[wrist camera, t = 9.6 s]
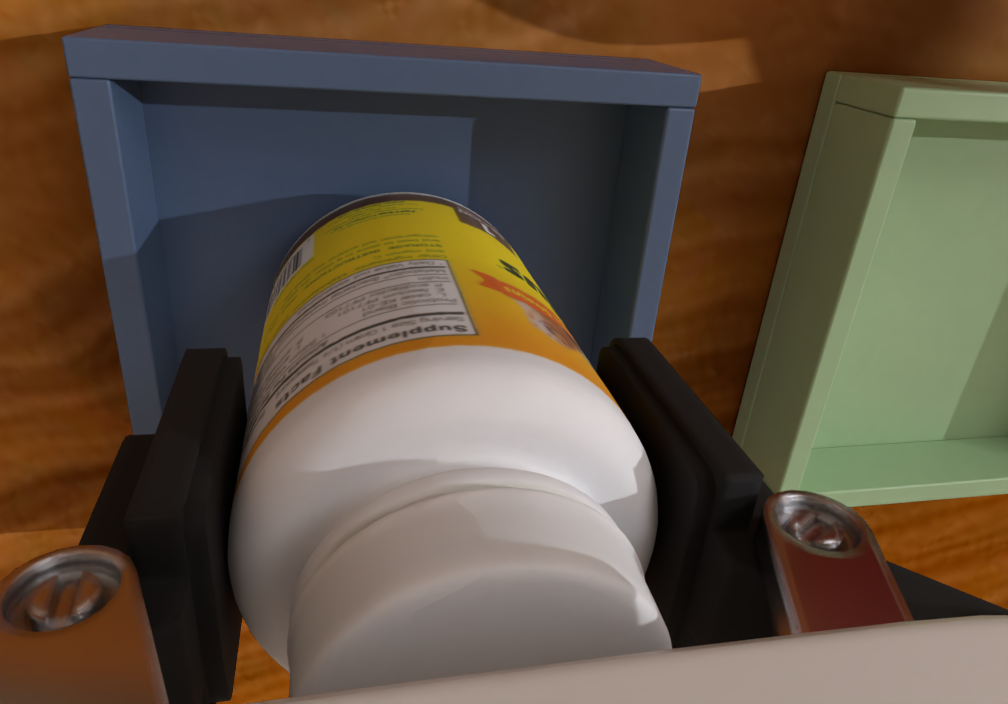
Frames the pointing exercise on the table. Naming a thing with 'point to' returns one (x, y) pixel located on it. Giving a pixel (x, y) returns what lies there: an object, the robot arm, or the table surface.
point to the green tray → (889, 300)
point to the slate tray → (361, 173)
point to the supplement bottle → (432, 464)
